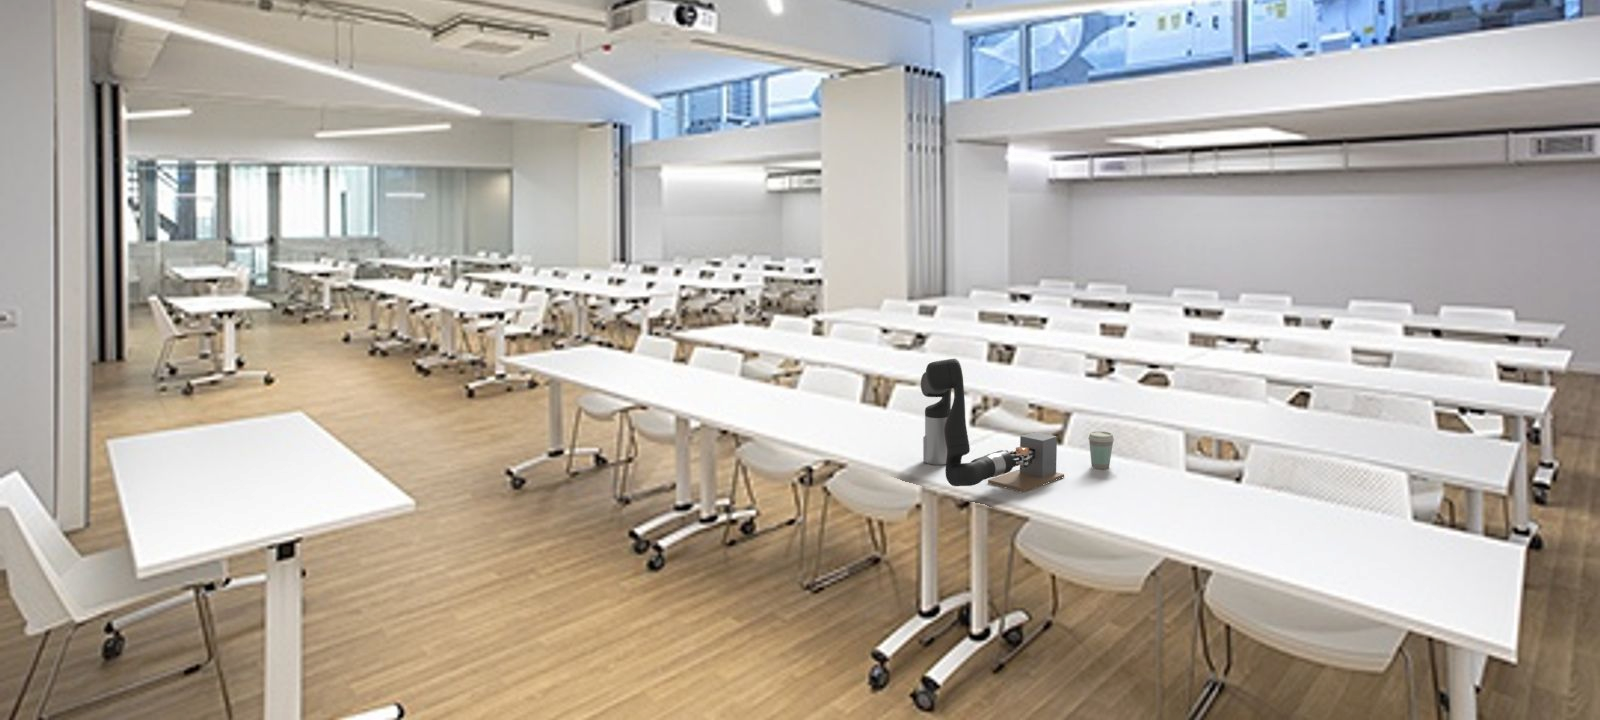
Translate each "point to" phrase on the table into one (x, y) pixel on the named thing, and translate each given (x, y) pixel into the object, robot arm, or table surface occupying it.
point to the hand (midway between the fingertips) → (1027, 454)
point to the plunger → (1024, 450)
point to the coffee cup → (1100, 449)
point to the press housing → (1033, 464)
